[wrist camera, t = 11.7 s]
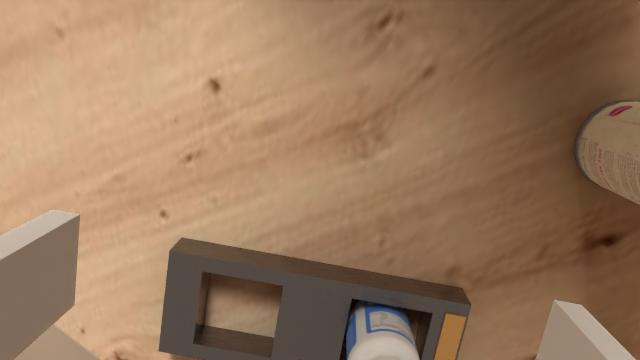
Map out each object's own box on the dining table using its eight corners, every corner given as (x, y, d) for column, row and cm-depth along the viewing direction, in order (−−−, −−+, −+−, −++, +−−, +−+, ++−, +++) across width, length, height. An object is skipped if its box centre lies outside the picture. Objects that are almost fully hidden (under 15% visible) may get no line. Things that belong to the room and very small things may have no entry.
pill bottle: (372, 361, 44) (379, 443, 34) (333, 317, 43) (329, 388, 34) (422, 327, 43) (443, 401, 33) (383, 281, 42) (394, 344, 33)
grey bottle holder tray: (181, 237, 42) (168, 251, 39) (462, 288, 42) (471, 306, 39) (170, 332, 44) (157, 352, 41) (437, 380, 44) (445, 404, 41)
